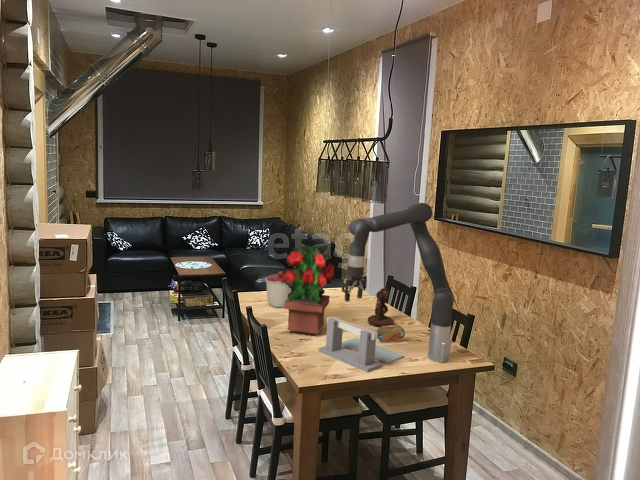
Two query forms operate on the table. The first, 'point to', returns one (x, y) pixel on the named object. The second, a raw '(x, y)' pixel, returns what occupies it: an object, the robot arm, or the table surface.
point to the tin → (390, 333)
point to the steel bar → (353, 327)
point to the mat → (380, 352)
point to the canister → (277, 290)
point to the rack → (357, 360)
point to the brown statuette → (381, 310)
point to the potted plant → (307, 288)
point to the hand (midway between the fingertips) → (353, 299)
